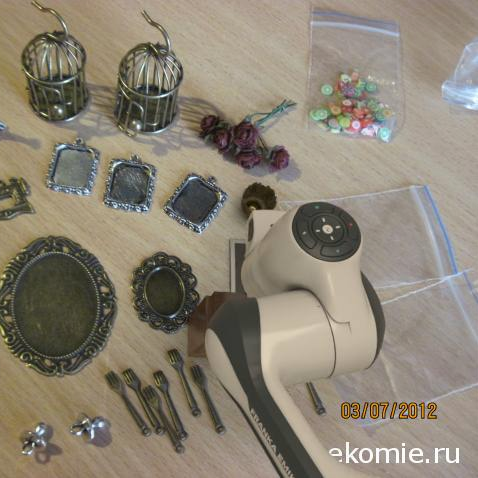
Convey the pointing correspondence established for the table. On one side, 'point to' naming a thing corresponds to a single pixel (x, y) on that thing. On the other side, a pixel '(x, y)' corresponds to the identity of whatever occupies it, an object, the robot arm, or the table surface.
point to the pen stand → (205, 320)
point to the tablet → (236, 264)
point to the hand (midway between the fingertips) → (249, 299)
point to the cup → (258, 198)
